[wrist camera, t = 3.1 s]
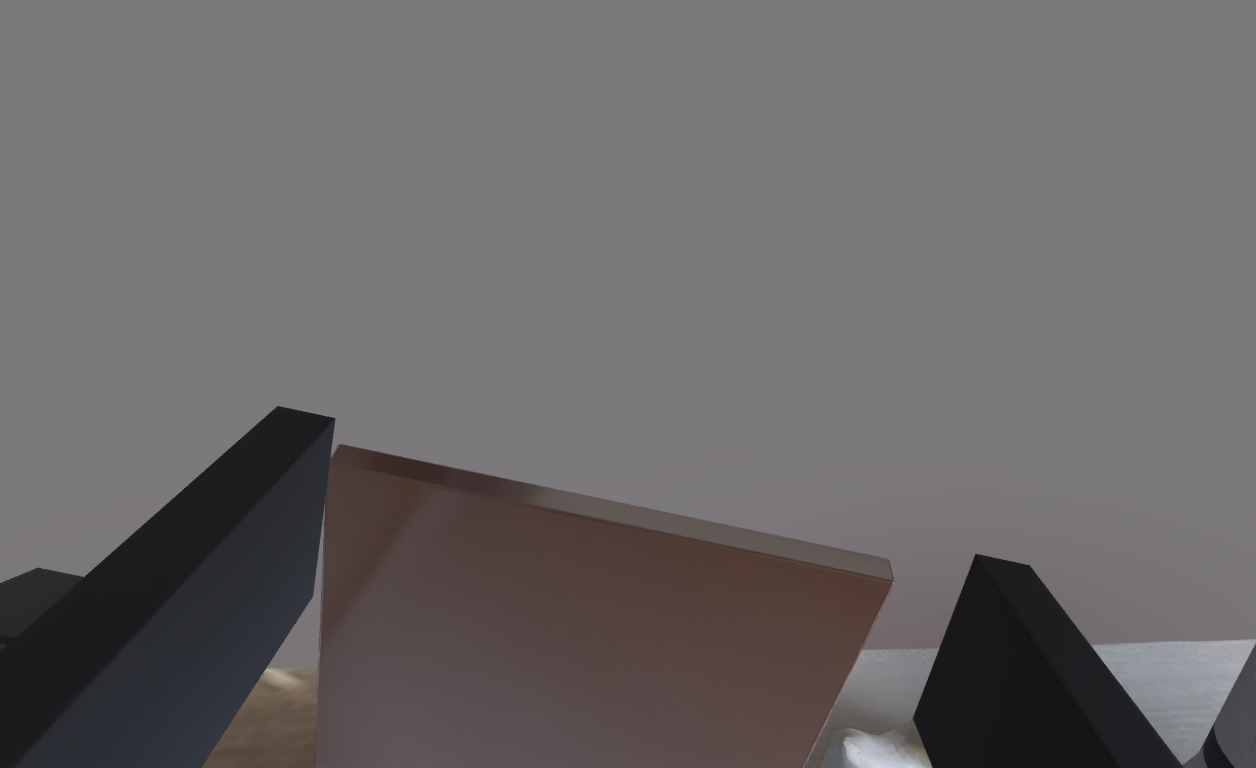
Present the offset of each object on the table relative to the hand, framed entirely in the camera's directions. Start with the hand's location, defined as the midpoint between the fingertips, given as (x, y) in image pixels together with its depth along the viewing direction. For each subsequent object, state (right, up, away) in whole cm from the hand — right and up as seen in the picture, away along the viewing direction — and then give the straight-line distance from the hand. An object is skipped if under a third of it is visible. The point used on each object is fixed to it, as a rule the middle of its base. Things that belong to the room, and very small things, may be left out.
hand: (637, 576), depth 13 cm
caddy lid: (-2, -6, +12) cm, 13 cm away
